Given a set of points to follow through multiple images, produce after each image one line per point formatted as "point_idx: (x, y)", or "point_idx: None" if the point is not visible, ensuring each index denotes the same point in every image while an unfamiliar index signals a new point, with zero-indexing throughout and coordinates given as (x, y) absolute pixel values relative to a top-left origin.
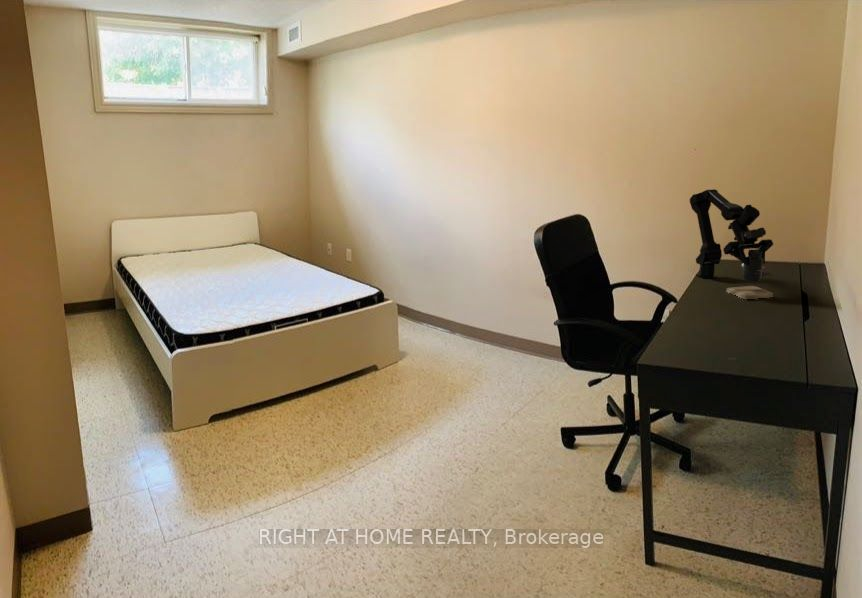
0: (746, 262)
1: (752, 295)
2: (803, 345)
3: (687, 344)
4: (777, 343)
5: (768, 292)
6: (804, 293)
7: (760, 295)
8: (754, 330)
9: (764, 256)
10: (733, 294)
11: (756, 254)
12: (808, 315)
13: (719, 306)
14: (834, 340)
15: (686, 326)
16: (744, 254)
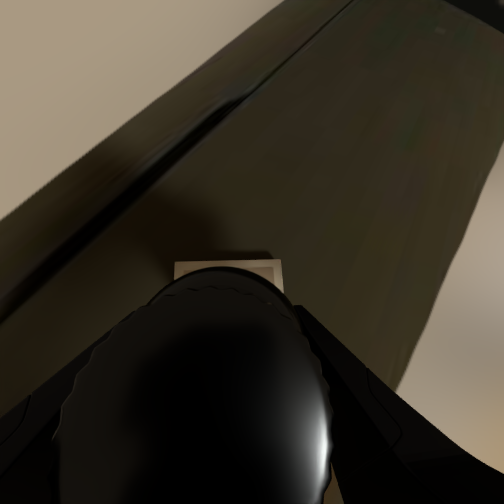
0: (311, 319)
1: (255, 260)
2: (326, 26)
3: (483, 79)
4: (359, 42)
5: (186, 270)
6: (20, 290)
7: (225, 261)
8: (365, 89)
9: (62, 374)
10: None
11: (250, 292)
12: (206, 118)
13: (369, 229)
14: (266, 22)
15: (471, 138)
16: (369, 403)
